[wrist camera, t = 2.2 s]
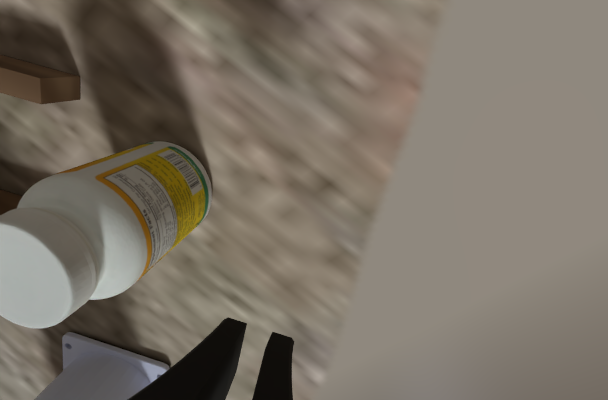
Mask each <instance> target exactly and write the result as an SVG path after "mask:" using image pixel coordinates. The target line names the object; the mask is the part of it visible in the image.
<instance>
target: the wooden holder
mask: <svg viewBox="0 0 608 400" xmlns="http://www.w3.org/2000/svg"><path fill="white" fill-rule="evenodd" d="M0 93H4V94H7V95H11V96H14V97H18V98H21V99H25V100H28V101H32V102H35V103H39V104H47V103H55V102H63V101H71V100H79V99H80V76H76V75H72V74H69V73H65V72H62V71H58V70H54V69H51V68H47V67H43V66H40V65H36V64H32V63H29V62H25V61H22V60H18V59H14V58H11V57H7V56H3V55H0ZM22 197H23V196H20V195H17V194H13V193H10V192H7V191H4V190H0V215H2V214H4V213H6V212H8V211H10V210H13V209H17V206H18V204H19V202H20V200H21V198H22Z"/></svg>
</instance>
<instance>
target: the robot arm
mask: <svg viewBox="0 0 608 400" xmlns="http://www.w3.org/2000/svg"><path fill="white" fill-rule="evenodd" d="M246 325H247V323H244V322H240V321H237V320H234V319H231V318H226V319H224V320H223V321H222V322H221V323H220V325H219V326H218V327H217V328H216V329H215V330H214V331H213V332H212V333H211V334H209V335H208V336H207V337H206V338H205V339H204V340H203V341H202V342H201V343H200V344H199V345H198V346H196V347H195V348H194V349H193V350H192V351H191V352H189V353H188V354H187V355H186V356H185V357H184V358H182V359H181V360H180V361H179V362H178V363H176V364H175V365H174V366H173V367H171V368H169V366H168V365H167V364H165V363H163V362H160V361H157V360H154V359H151V358H148V357H145V356H142V355H139V354H136V353H133V352H130V351H127V350H124V349H121V348H118V347H115V346H112V345H109V344H106V343H103V342H100V341H97V340H94V339H91V338H88V337H85V336H82V335H79V334H76V333H73V332H67V333H66V334H65V335H64V336H63V337H62V349H63V371H62V372H61V373H60V374H59V375H58V376H57V377H56V378H55V379H54V380H53V381H52V382H51V383H50V384H49V385H48V386H47V387H46V388H45V389H44V390H43V391H42V392H41V393H40V394H39V395H38V396H37V397H36V398H35V399H34V400H225V399H226V396H227V394H228V391H229V389H230V386H231V384H232V381H233V379H234V376H235V373H236V370H237V366H238V361H239V357H240V352H241V348H242V343H243V339H244V334H245V330H246ZM293 345H294V341H293V339H292V338H291V337H287V336H284V335H281V334H278V333H275V332H272V334H271V337H270V339H269V341H268V344H267V346H266V349H265V352H264V356H263V360H262V364H261V368H260V372H259V376H258V380H257V384H256V387H255V391H254V395H253V399H252V400H293V395H292V352H293Z"/></svg>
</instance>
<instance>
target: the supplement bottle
mask: <svg viewBox="0 0 608 400" xmlns="http://www.w3.org/2000/svg"><path fill="white" fill-rule="evenodd" d="M211 201H212V188H211V183H210V180H209V177H208V175H207V173H206V170H205V169H204V167H203V165H202V164H201V163H200V161H199V160H198V159H197V158H196V157H195V156H194V155H193V154H191V153H190V152H189V151H187V150H186V149H184V148H182V147H180V146H178V145H176V144H173V143H169V142H163V141H155V142H149V143H145V144H142V145H139V146H136V147H134V148H130V149H127V150H125V151H122V152H119V153H116V154H113V155H110V156H107V157H105V158H101V159H99V160H96V161H93V162H90V163H87V164H84V165H81V166H78V167H75V168H72V169H69V170H66V171H63V172H60V173H57V174H54V175H52V176H49V177H47V178H45V179H42V180H40V181H39V182H37V183H36V184H34V185H33V186H32V187H31V188H29V189H28V190H27V192H26V193H25V194H24V195H23V197H22V198H21V200H20V202H19V204H18V206H17V209H13V210H10V211H8V212H6V213H4V214H2V215H0V316H2V317H4V318H6V319H7V320H9V321H11V322H13V323H15V324H18V325H21V326H24V327H29V328H47V327H51V326H54V325H56V324H58V323H60V322H62V321H63V320H64V319H66V318H67V317H68V316H70V315H71V314H72V313H74V312H75V311H76V310H77V309H79V308H80V307H81V306H82V305H84V304H85V303H86V302H87V301H88V300H97V299H105V298H109V297H113V296H115V295H118V294H120V293H122V292H124V291H125V290H127V289H128V288H130V287H131V286H132V285H133V284H134V283H136V282H137V281H138V280H139V279H140V278H141V277H142V276H143V275H144V274H145V273H147V272H148V271H149V270H150V269H151V268H152V267H153V266H154V265H155V264H156V263H157V262H158V261H160V260H161V259H162V258H163V257H164V256H165V255H166V254H167V253H168V252H169V251H170V250H172V249H173V248H174V247H175V246H176V245H177V244H178V243H179V242H180V241H181V240H182V239H184V238H185V237H186V236H187V235H188V234H189V233H190V232H191V231H192V230H193V229H194V228H195V227H197V226H198V225H199V224H200V223H201V222H202V221H203V219H204V218H205V217H206V215H207V214H208V212H209V209H210V206H211Z"/></svg>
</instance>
